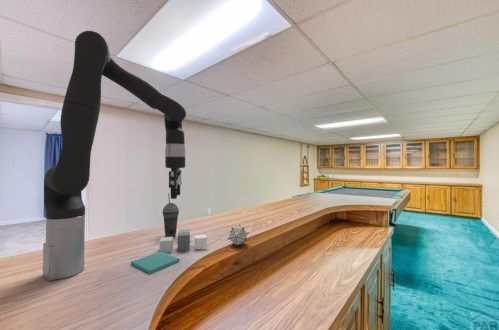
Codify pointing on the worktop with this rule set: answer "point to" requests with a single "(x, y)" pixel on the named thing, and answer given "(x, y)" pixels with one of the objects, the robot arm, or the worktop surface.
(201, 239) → the offwhite block
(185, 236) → the charcoal block
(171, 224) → the beverage cup
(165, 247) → the grey block
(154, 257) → the teal mat
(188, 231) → the sage block
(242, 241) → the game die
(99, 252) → the worktop surface
